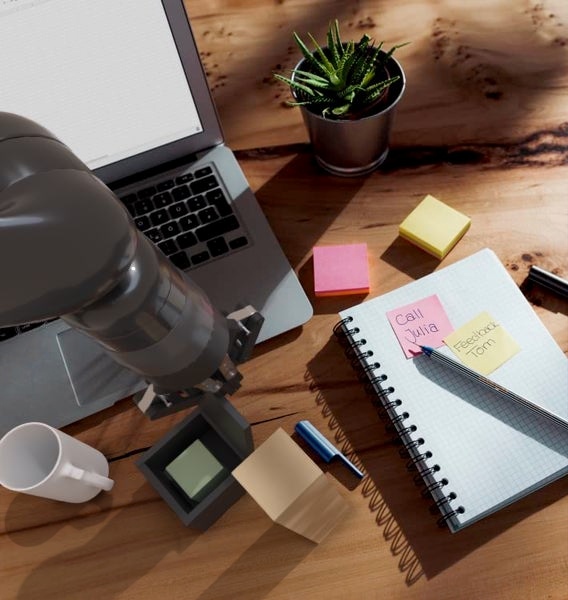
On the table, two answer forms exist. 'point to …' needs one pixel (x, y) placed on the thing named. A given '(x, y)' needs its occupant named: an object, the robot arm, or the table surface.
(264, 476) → the stand
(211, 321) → the robot arm
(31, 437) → the mug
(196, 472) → the block
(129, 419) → the table surface
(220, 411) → the open box flap
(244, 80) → the table surface
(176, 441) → the grey lidded box
